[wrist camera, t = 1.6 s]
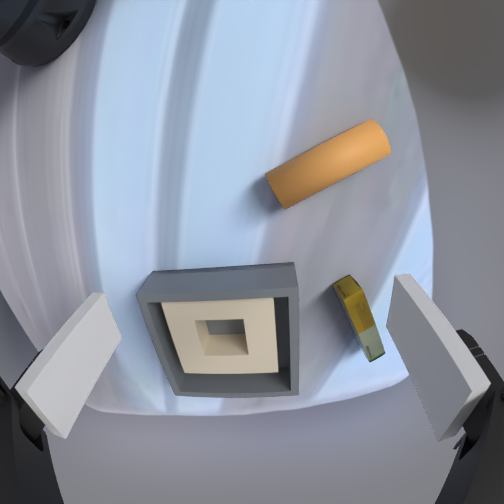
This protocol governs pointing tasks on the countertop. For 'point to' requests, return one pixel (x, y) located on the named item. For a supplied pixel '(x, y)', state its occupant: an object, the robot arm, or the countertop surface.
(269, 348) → the box
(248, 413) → the countertop surface
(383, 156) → the peg
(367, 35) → the countertop surface
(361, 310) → the medication box
